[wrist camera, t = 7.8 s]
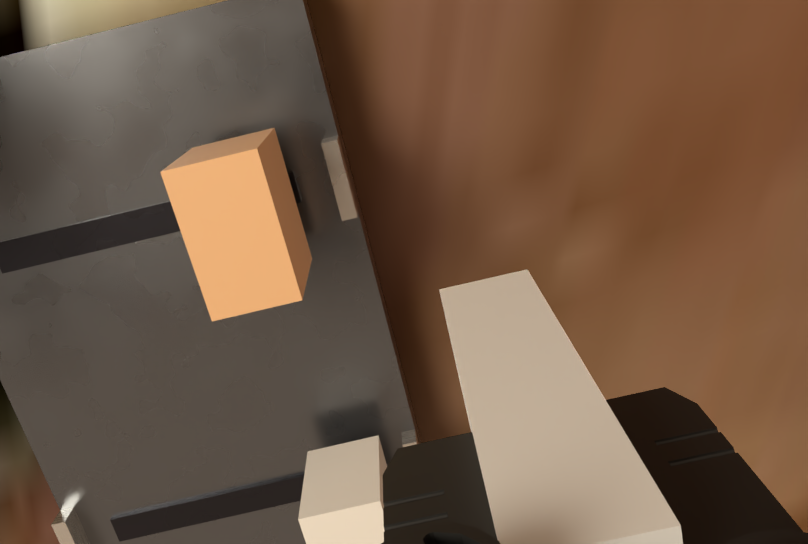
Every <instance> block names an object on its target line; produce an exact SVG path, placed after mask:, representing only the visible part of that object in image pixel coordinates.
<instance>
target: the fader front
mask: <svg viewBox="0 0 808 544" xmlns="http://www.w3.org/2000/svg"><path fill="white" fill-rule="evenodd" d="M160 173H161V176H162V179H163V182H164V184H165V187H166V190H167V193H168V196H169V199H170V202H171V205H172V208H173V211H174V213H175V216H176V219H177V222H178V225H179V228H180V231H181V234H182V237H183V239H184V242H185V245H186V248H187V251H188V254H189V257H190V260H191V263H192V265H193V268H194V271H195V274H196V277H197V280H198V283H199V286H200V289H201V291H202V294H203V297H204V300H205V303H206V306H207V309H208V312H209V315H210V317H211V320H212V321H217V320H221V319H225V318H229V317H234V316H238V315H242V314H246V313H251V312H255V311H259V310H263V309H268V308H272V307H276V306H280V305H285V304H289V303H293V302H297V301H302V300H303V296H304V291H305V287H306V283H307V278H308V274H309V270H310V265H311V261H312V256H311V252H310V249H309V246H308V242H307V239H306V235H305V232H304V228H303V225H302V221H301V218H300V214H299V211H298V207H297V204H296V201H295V197H294V194H293V190H292V187H291V183H290V180H289V176H288V173H287V169H286V166H285V162H284V159H283V155H282V152H281V149H280V145H279V142H278V138H277V135H276V131H275V128H271V129H267V130H263V131H258V132H254V133H250V134H246V135H242V136H238V137H234V138H230V139H225V140H221V141H217V142H213V143H209V144H205V145H201V146H197V147H193V148H191V149H190V150H189V151H187V152H186V153H185V154H183V155H182V156H181V157H179V158H178V159H177V160H175V161H174V162H173V163H171V164H170V165H169V166H167V167H166V168H165V169H163V170H162V171H161V172H160Z"/></svg>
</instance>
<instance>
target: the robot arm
mask: <svg viewBox="0 0 808 544" xmlns="http://www.w3.org/2000/svg"><path fill="white" fill-rule="evenodd" d="M439 291H440V296H441V300H442V305H443V309H444V313H445V318H446V322H447V327H448V331H449V336H450V340H451V344H452V349H453V353H454V358H455V362H456V366H457V371H458V375H459V380H460V384H461V389H462V393H463V397H464V402H465V406H466V411H467V415H468V420H469V424H470V428H471V433H466V434H461V435H457V436H452V437H448V438H443V439H438V440H434V441H429V442H425V443H420V444H416V445H411V446H406V447H402V448H398V449H397V451H396V452H395V454H394V456H393V458H392V459H391V461H390V463H389V465H388V466H387V468H386V470H385V472H384V473H383V504H384V508H383V522H384V530H385V532H384V542H383V543H381V544H808V533H805V532H803V531H802V530H801V529H800V527H799V526H798V525H797V524H796V522H795V521H794V520H793V519H792V518H791V516H790V515H789V514H788V513H787V512H786V510H785V509H784V508H783V507H782V506H781V504H780V503H779V502H778V501H777V500H776V498H775V497H774V496H773V495H772V493H771V492H770V491H769V490H768V489H767V487H766V486H765V485H764V484H763V483H762V481H761V480H760V479H759V478H758V477H757V475H756V474H755V473H754V472H753V471H752V469H751V468H750V467H749V466H748V465H747V463H746V462H745V461H744V460H743V458H742V457H741V456H740V455H739V454H738V453H735V452H734V448H733V446H732V445H731V444H730V443H729V442H728V440H727V439H726V438H725V437H724V436H723V434H722V433H721V432H719V433H718V431H717V427H716V426H715V425H714V423H713V422H712V421H711V420H710V419H709V417H708V416H707V415H706V414H705V413H704V411H703V410H702V409H701V408H700V407H699V405H698V404H697V403H695V402H693V401H691V400H689V399H687V398H685V397H683V396H681V395H679V394H677V393H675V392H673V391H671V390H669V389H667V388H665V387H663V388H659V389H654V390H650V391H645V392H641V393H636V394H631V395H627V396H622V397H618V398H613V399H609V400H605V398H604V396H603V395H602V393H601V391H600V390H599V388H598V386H597V385H596V383H595V381H594V380H593V378H592V376H591V375H590V373H589V371H588V370H587V368H586V366H585V365H584V363H583V361H582V360H581V358H580V356H579V355H578V353H577V351H576V350H575V348H574V346H573V345H572V343H571V341H570V340H569V338H568V336H567V335H566V333H565V331H564V330H563V328H562V326H561V325H560V323H559V321H558V320H557V318H556V316H555V315H554V313H553V311H552V310H551V308H550V306H549V305H548V303H547V301H546V300H545V298H544V296H543V295H542V293H541V291H540V290H539V288H538V286H537V285H536V283H535V281H534V280H533V278H532V276H531V275H530V273H529V271H528V270H523V271H518V272H514V273H510V274H505V275H501V276H496V277H492V278H487V279H483V280H479V281H474V282H470V283H465V284H461V285H456V286H452V287H448V288H443V289H439Z"/></svg>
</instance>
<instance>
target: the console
mask: <svg viewBox="0 0 808 544" xmlns="http://www.w3.org/2000/svg"><path fill="white" fill-rule="evenodd" d="M271 128H275V131H276V135H277V138H278V142H279V145H280V149H281V152H282V155H283V159H284V162H285V166H286V169H287V173H288V176H289V180H290V183H291V187H292V190H293V194H294V197H295V201H296V204H297V207H298V211H299V214H300V218H301V221H302V225H303V228H304V232H305V235H306V239H307V242H308V246H309V249H310V252H311V256H312V261H311V265H310V270H309V274H308V278H307V283H306V287H305V291H304V296H303V300H302V301H297V302H293V303H289V304H285V305H280V306H276V307H272V308H268V309H263V310H259V311H255V312H251V313H246V314H242V315H238V316H234V317H229V318H225V319H221V320H217V321H212V320H211V317H210V315H209V312H208V309H207V306H206V303H205V300H204V297H203V294H202V291H201V289H200V286H199V283H198V280H197V277H196V274H195V271H194V268H193V265H192V263H191V260H190V257H189V254H188V251H187V248H186V245H185V242H184V239H183V237H182V234H181V231H180V228H179V225H178V222H177V219H176V216H175V213H174V211H173V208H172V205H171V202H170V199H169V196H168V193H167V190H166V187H165V184H164V182H163V179H162V176H161V173H160V172H161V171H162V170H163V169H165V168H166V167H167V166H169V165H170V164H171V163H173V162H174V161H175V160H177V159H178V158H179V157H181V156H182V155H183V154H185V153H186V152H187V151H189V150H190V149H191V148H193V147H197V146H201V145H205V144H209V143H213V142H217V141H221V140H225V139H230V138H234V137H238V136H242V135H246V134H250V133H254V132H258V131H263V130H267V129H271ZM0 380H1V383H2V385H3V387H4V389H5V391H6V393H7V396H8V398H9V400H10V402H11V404H12V406H13V409H14V411H15V413H16V415H17V417H18V419H19V422H20V424H21V426H22V428H23V430H24V432H25V435H26V437H27V439H28V441H29V443H30V445H31V448H32V450H33V452H34V454H35V456H36V458H37V461H38V463H39V465H40V467H41V469H42V471H43V474H44V476H45V478H46V480H47V482H48V484H49V487H50V489H51V491H52V493H53V495H54V497H55V500H56V502H57V504H58V506H59V508H60V512H59V513H58V515H57V517H56V518H55V520H54V521H53V523H52V527H53V530H54V532H55V534H56V536H57V538H58V540H59V542H60V544H306V542H305V539H304V536H303V533H302V530H301V527H300V524H299V521H298V517H299V509H300V502H301V495H302V488H303V481H304V474H305V466H306V459H307V452H308V451H312V450H316V449H321V448H325V447H329V446H334V445H338V444H342V443H347V442H351V441H356V440H360V439H364V438H369V437H373V436H377V435H379V439H380V442H381V446H382V450H383V453H384V457H385V460H386V464H387V466H388V465H389V463H390V461H391V459H392V458H393V456H394V454H395V452H396V451H397V449H398V448H402V447H406V446H411V445H416V444H420V443H422V442H421V438H420V434H419V430H418V426H417V422H416V419H415V415H414V411H413V407H412V403H411V399H410V396H409V392H408V388H407V384H406V380H405V376H404V372H403V369H402V365H401V361H400V357H399V353H398V349H397V345H396V342H395V338H394V334H393V330H392V326H391V322H390V318H389V315H388V311H387V307H386V303H385V299H384V295H383V292H382V288H381V284H380V280H379V276H378V272H377V268H376V265H375V261H374V257H373V253H372V249H371V245H370V241H369V238H368V234H367V230H366V226H365V222H364V218H363V214H362V211H361V207H360V203H359V199H358V195H357V191H356V188H355V184H354V180H353V176H352V172H351V168H350V164H349V161H348V157H347V153H346V149H345V145H344V141H343V137H342V134H341V130H340V126H339V122H338V118H337V114H336V110H335V107H334V103H333V99H332V95H331V91H330V87H329V84H328V80H327V76H326V72H325V68H324V64H323V60H322V57H321V53H320V49H319V45H318V41H317V37H316V33H315V30H314V26H313V22H312V18H311V14H310V10H309V7H308V3H307V0H228V1H224V2H220V3H216V4H212V5H208V6H204V7H200V8H196V9H192V10H188V11H184V12H180V13H176V14H172V15H168V16H164V17H160V18H156V19H152V20H148V21H144V22H140V23H136V24H132V25H127V26H123V27H119V28H115V29H111V30H107V31H103V32H99V33H95V34H91V35H87V36H83V37H79V38H75V39H71V40H67V41H63V42H59V43H55V44H51V45H47V46H43V47H39V48H35V49H31V50H27V51H23V52H19V53H15V54H11V55H7V56H3V57H0Z"/></svg>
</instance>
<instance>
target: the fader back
mask: <svg viewBox="0 0 808 544" xmlns="http://www.w3.org/2000/svg"><path fill="white" fill-rule="evenodd" d="M386 468H387V464H386V460H385V457H384V453H383V450H382V446H381V442H380V439H379V435H377V436H373V437H369V438H364V439H360V440H356V441H351V442H347V443H342V444H338V445H334V446H329V447H325V448H321V449H316V450H312V451H308V452H307V459H306V466H305V474H304V481H303V488H302V495H301V502H300V509H299V517H298V521H299V524H300V527H301V530H302V533H303V536H304V539H305V542H306V544H381V543H383V542H384V532H385V530H384V522H383V508H384V504H383V473H384V472H385V470H386Z"/></svg>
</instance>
